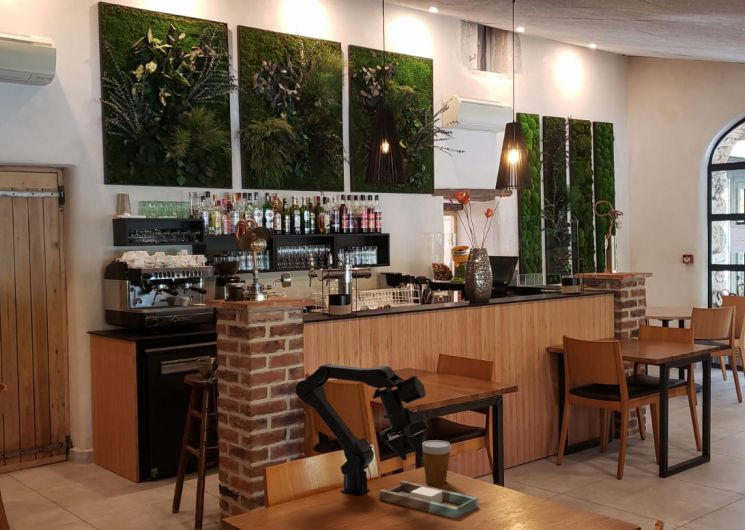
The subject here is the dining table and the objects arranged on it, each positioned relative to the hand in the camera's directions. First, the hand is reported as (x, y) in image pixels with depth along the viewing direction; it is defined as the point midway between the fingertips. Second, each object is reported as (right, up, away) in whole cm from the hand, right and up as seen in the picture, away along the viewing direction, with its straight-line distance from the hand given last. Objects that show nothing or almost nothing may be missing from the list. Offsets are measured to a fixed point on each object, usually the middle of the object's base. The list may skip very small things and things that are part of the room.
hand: (413, 458), depth 238 cm
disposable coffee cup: (+8, -12, +18) cm, 23 cm away
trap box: (+4, -12, -2) cm, 13 cm away
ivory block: (+4, -13, -2) cm, 13 cm away
